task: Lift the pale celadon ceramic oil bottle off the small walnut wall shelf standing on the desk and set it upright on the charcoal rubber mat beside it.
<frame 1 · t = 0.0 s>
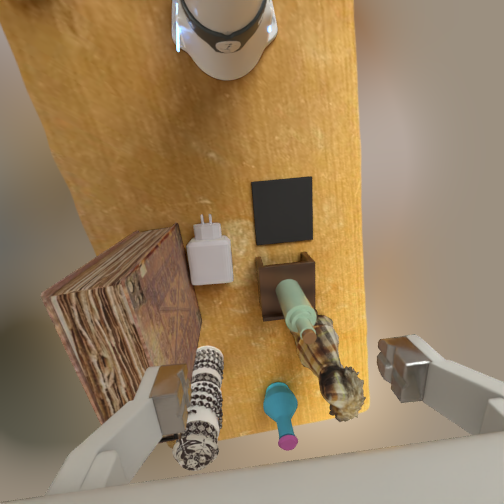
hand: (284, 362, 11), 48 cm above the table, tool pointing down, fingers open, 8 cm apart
perfume bottle: (277, 390, 74), on the table
mat: (283, 211, 57), on the table
shelf: (282, 277, 62), on the table
charger: (210, 245, 59), on the table
decorative candle: (207, 358, 68), on the table
bottle: (288, 290, 56), point 7 cm above the table, touching shelf
plush toy: (311, 326, 68), on the table
book: (171, 277, 61), on the table
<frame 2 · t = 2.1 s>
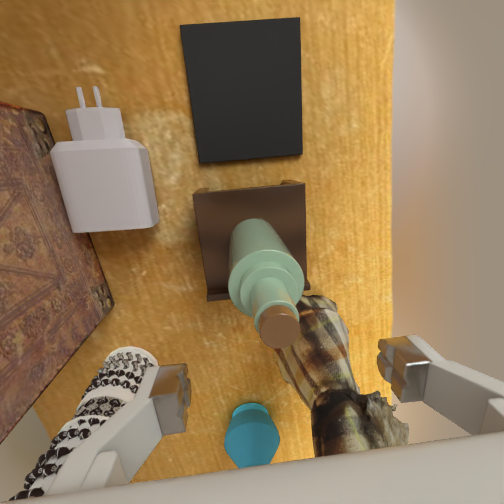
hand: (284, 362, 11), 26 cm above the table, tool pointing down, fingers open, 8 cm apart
perfume bottle: (250, 415, 47), on the table
mat: (246, 96, 31), on the table
shelf: (249, 228, 36), on the table
charger: (114, 162, 32), on the table
decorative candle: (132, 367, 42), on the table
bottle: (254, 242, 29), point 7 cm above the table, touching shelf
plush toy: (301, 315, 41), on the table
book: (50, 225, 34), on the table
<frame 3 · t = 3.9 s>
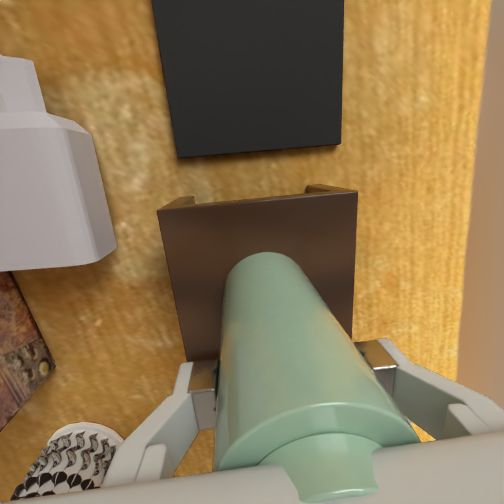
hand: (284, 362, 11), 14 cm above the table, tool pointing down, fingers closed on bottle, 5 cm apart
mat: (252, 48, 19), on the table
shelf: (256, 257, 24), on the table
charger: (41, 156, 20), on the table
decorative candle: (88, 447, 30), on the table
bottle: (266, 292, 17), point 7 cm above the table, touching gripper, shelf
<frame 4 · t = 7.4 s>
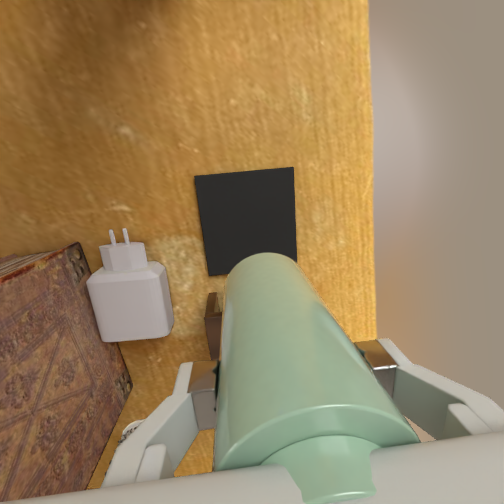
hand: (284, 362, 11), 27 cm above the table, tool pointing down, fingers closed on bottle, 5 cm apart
mat: (248, 223, 36), on the table
shelf: (251, 322, 41), on the table
charger: (136, 275, 38), on the table
bottle: (266, 292, 17), point 20 cm above the table, touching gripper
book: (80, 325, 39), on the table
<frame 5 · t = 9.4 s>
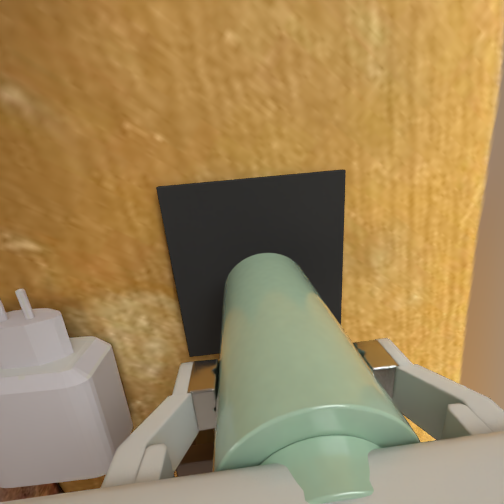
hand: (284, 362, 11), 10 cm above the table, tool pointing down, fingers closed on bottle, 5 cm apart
mat: (259, 269, 20), on the table
shelf: (261, 420, 25), on the table
charger: (63, 356, 22), on the table
bottle: (266, 292, 17), point 4 cm above the table, touching gripper
when the fingers open (7 cm above the table, at t = 10.9 s): bottle stays where it is, resting on mat.
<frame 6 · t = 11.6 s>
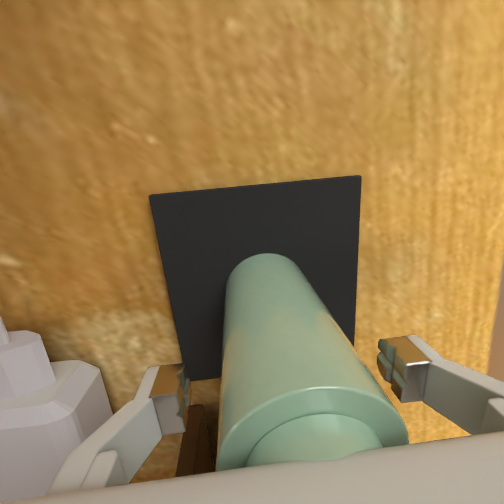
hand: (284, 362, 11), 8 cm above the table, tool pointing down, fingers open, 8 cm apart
mat: (264, 286, 18), on the table
shelf: (265, 448, 23), on the table
charger: (47, 381, 20), on the table
bottle: (266, 291, 18), point 1 cm above the table, touching mat
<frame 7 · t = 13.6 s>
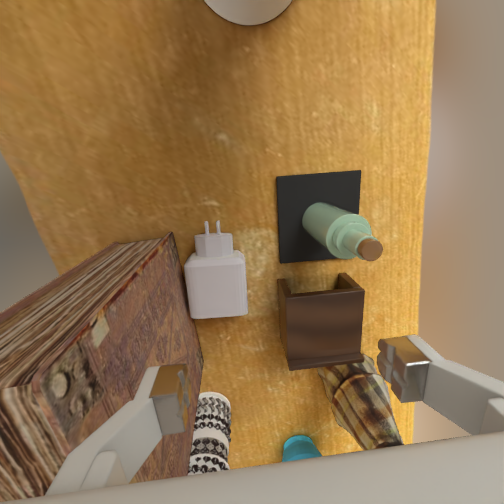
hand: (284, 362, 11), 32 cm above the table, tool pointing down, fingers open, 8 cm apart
perfume bottle: (298, 445, 58), on the table
mat: (317, 218, 42), on the table
shelf: (311, 306, 47), on the table
charger: (217, 262, 43), on the table
decorative candle: (209, 407, 52), on the table
bottle: (319, 219, 41), point 1 cm above the table, touching mat
plush toy: (345, 367, 52), on the table
book: (163, 305, 45), on the table
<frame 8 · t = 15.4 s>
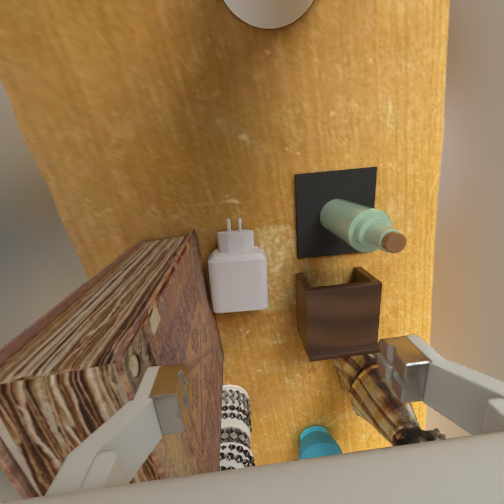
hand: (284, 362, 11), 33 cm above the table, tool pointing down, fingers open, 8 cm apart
perfume bottle: (313, 435, 59), on the table
mat: (334, 214, 43), on the table
shelf: (328, 299, 48), on the table
charger: (237, 258, 44), on the table
decorative candle: (228, 399, 54), on the table
bottle: (336, 215, 43), point 1 cm above the table, touching mat
plush toy: (360, 359, 53), on the table
book: (185, 301, 46), on the table
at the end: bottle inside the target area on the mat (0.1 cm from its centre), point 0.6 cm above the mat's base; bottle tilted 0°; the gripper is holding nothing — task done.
